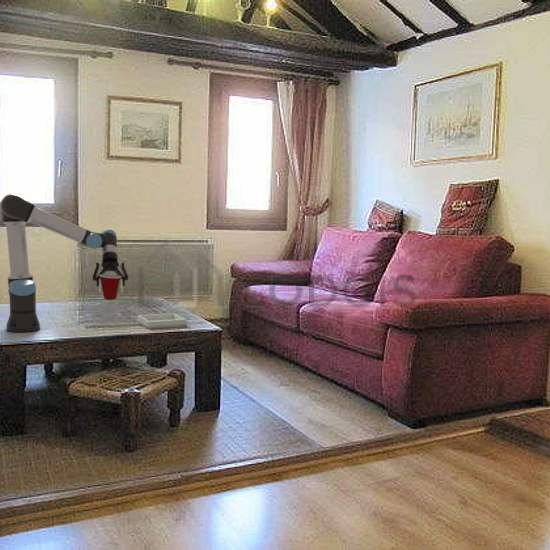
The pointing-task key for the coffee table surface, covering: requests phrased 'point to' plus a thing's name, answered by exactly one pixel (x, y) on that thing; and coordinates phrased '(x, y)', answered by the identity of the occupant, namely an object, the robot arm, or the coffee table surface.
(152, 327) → the tray
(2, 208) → the robot arm
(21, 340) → the coffee table surface
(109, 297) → the plastic cup
